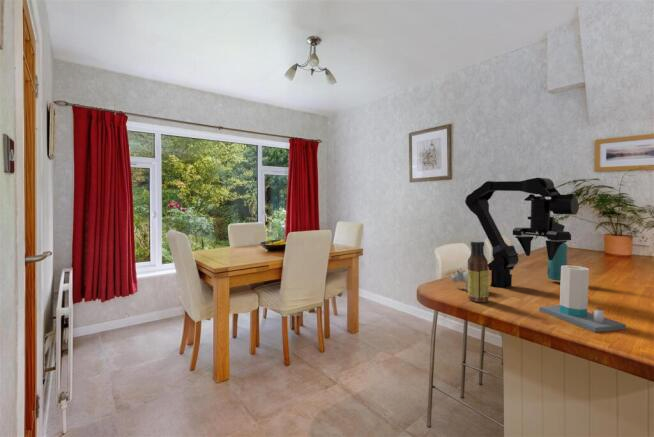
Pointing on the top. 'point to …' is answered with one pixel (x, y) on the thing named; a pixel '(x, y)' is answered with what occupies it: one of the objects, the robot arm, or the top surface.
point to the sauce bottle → (478, 273)
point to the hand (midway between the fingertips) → (538, 257)
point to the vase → (574, 290)
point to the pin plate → (586, 319)
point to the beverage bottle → (557, 263)
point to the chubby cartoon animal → (460, 277)
